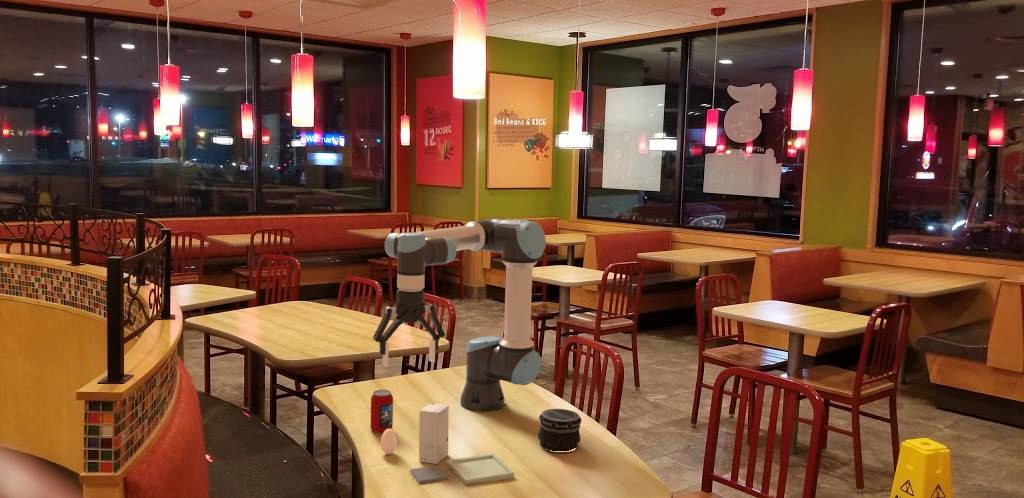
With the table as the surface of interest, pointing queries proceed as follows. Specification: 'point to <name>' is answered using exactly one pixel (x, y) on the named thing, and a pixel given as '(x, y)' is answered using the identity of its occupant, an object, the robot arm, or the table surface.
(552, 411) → the container
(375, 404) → the beverage can
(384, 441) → the egg
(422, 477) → the pad
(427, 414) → the skincare box
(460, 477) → the tray
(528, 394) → the table surface
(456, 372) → the table surface
